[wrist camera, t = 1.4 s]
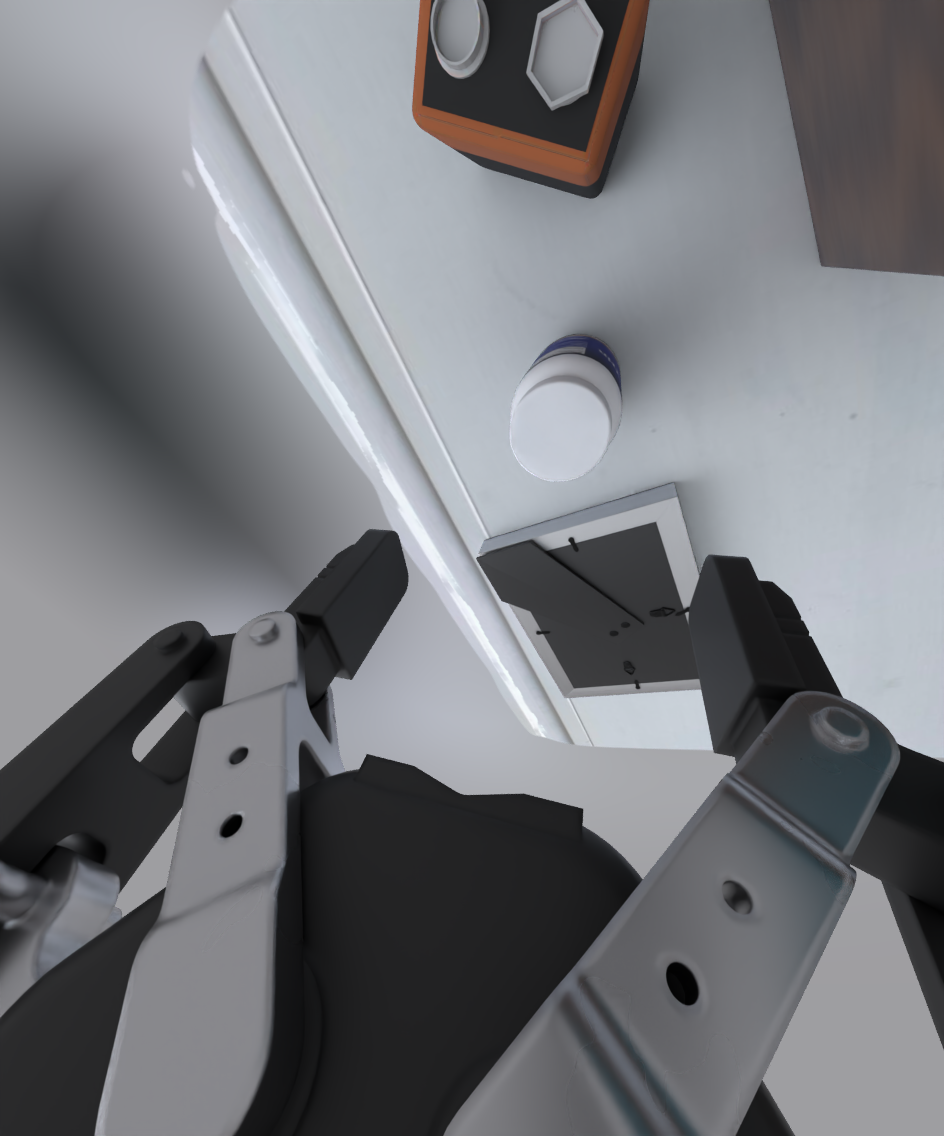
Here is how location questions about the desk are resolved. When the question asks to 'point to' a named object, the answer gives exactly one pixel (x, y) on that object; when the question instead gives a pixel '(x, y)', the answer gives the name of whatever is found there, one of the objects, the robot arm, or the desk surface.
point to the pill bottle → (566, 409)
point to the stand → (869, 127)
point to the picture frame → (604, 594)
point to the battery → (530, 84)
